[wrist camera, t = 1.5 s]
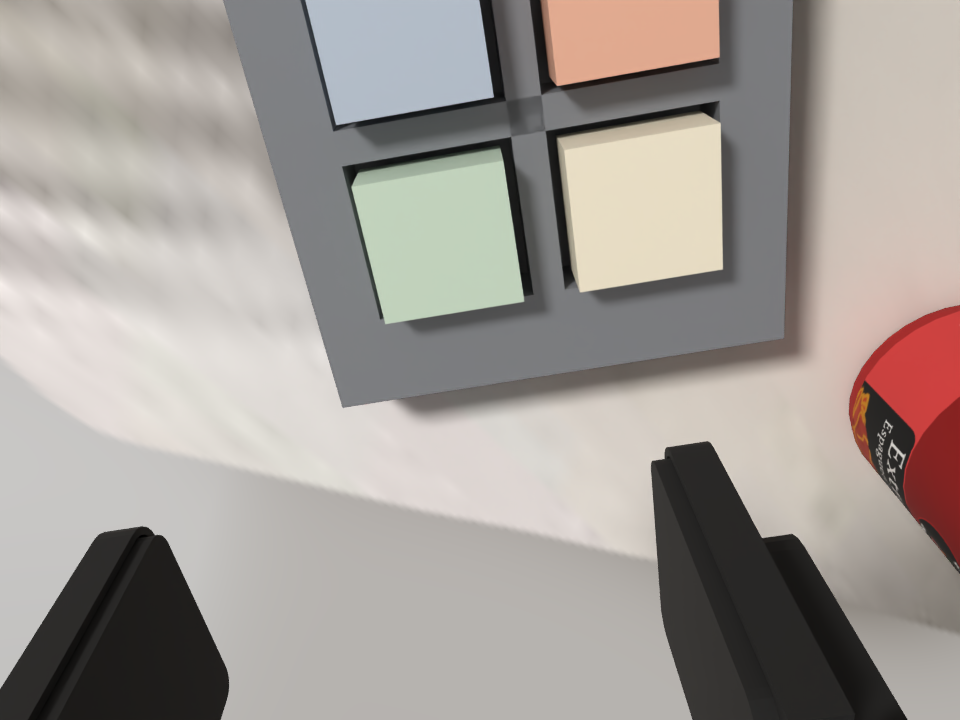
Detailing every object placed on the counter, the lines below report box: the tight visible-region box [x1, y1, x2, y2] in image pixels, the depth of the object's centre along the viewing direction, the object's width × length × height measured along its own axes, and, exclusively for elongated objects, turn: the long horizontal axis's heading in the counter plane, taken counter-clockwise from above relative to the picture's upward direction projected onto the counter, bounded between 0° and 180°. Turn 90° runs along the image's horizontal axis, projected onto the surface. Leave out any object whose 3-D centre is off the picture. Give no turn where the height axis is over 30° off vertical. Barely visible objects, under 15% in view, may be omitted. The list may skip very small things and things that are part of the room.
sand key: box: [556, 111, 723, 292], centre depth 23 cm, size 4×4×2 cm
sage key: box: [352, 145, 524, 324], centre depth 23 cm, size 4×4×2 cm
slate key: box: [305, 0, 494, 125], centre depth 20 cm, size 4×4×2 cm
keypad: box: [223, 0, 793, 408], centre depth 23 cm, size 17×15×3 cm
